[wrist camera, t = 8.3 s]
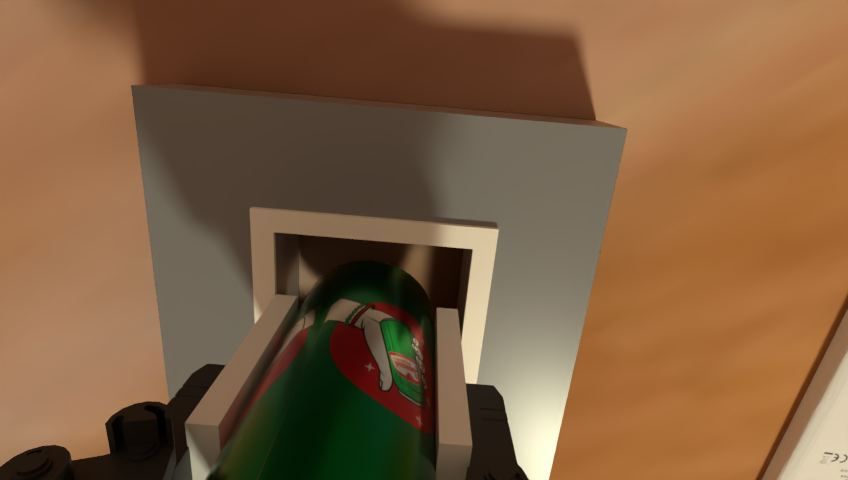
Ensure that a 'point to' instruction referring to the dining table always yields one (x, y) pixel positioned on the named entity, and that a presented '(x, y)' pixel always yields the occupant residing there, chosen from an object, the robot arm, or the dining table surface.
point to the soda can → (344, 387)
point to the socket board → (379, 223)
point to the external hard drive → (819, 422)
